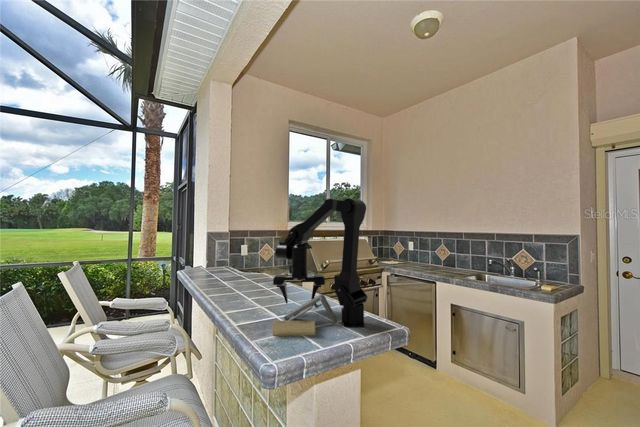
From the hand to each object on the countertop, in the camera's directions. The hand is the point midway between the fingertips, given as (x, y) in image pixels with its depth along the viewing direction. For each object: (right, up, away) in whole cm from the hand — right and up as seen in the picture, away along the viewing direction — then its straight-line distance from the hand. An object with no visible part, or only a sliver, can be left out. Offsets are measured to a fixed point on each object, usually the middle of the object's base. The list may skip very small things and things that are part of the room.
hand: (299, 303), depth 104 cm
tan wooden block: (0, -2, -23) cm, 23 cm away
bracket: (+4, -3, -15) cm, 15 cm away
